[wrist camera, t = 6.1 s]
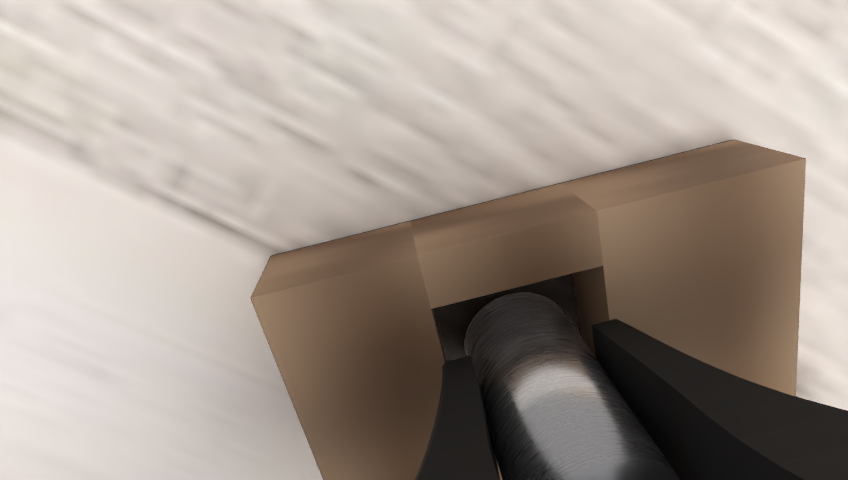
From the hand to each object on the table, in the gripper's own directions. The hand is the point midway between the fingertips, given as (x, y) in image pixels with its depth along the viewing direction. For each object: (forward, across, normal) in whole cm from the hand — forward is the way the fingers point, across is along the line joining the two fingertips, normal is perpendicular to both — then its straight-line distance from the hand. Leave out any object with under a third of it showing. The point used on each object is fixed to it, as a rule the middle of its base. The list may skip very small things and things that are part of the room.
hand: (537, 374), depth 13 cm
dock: (+3, 0, +3) cm, 4 cm away
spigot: (+2, 0, 0) cm, 2 cm away
